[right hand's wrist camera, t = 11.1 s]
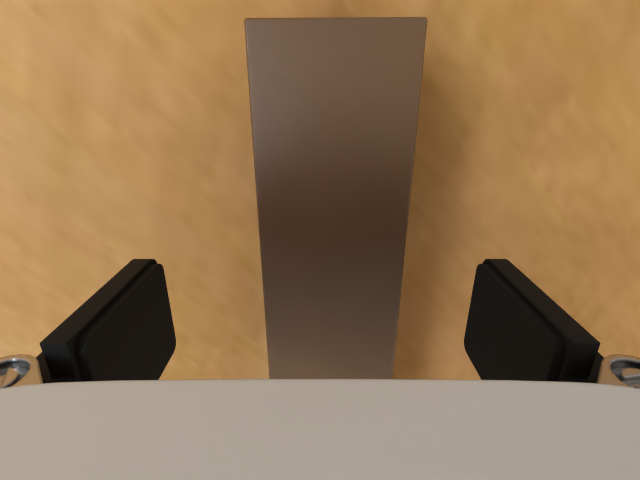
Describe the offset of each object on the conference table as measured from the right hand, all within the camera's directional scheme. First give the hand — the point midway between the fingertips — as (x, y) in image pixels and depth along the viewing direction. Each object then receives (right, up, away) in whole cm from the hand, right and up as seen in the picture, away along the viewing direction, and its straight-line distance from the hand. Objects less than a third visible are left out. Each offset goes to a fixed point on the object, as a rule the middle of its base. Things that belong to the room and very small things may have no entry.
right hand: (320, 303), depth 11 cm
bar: (0, -28, +20) cm, 34 cm away
